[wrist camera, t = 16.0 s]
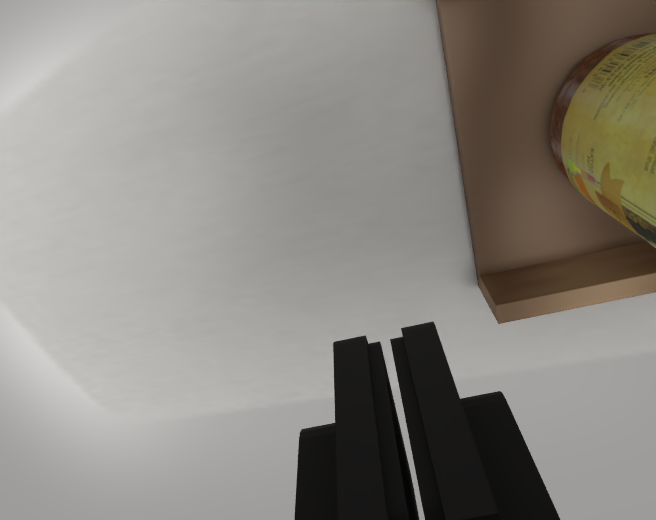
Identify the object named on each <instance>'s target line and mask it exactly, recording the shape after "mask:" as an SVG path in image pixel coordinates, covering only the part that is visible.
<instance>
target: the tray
mask: <svg viewBox="0 0 656 520" xmlns="http://www.w3.org/2000/svg"><path fill="white" fill-rule="evenodd" d="M436 2H437V9H438V16H439V22H440V29H441V36H442V43H443V49H444V56H445V63H446V70H447V76H448V83H449V90H450V96H451V103H452V110H453V117H454V123H455V130H456V137H457V144H458V150H459V157H460V164H461V171H462V177H463V184H464V191H465V197H466V204H467V211H468V218H469V224H470V231H471V238H472V245H473V251H474V258H475V265H476V272H477V278H478V285H479V288H480V290H481V292H482V294H483V296H484V298H485V300H486V301H487V303H488V305H489V307H490V309H491V311H492V313H493V314H494V316H495V318H496V320H497V322H498V324H500V323H505V322H510V321H515V320H520V319H525V318H530V317H535V316H540V315H545V314H550V313H554V312H559V311H564V310H569V309H574V308H579V307H584V306H589V305H594V304H599V303H604V302H609V301H614V300H619V299H624V298H629V297H634V296H638V295H643V294H648V293H653V292H656V248H654V247H653V246H652V245H651V244H650V243H648V242H647V241H646V240H645V239H643V238H642V237H640V236H639V235H637V234H636V233H635V232H633V231H632V230H630V229H629V228H627V227H626V226H625V225H623V224H622V223H620V222H619V221H618V220H616V219H615V218H613V217H612V216H610V215H609V214H607V213H606V212H605V211H603V210H602V209H600V208H599V207H597V206H596V205H595V204H593V203H592V202H590V201H589V200H587V199H586V198H585V197H584V196H582V195H581V193H580V192H579V191H578V190H577V189H576V188H575V187H574V186H573V184H572V183H571V181H570V180H568V179H567V178H566V177H565V175H564V174H563V173H562V172H561V171H560V169H559V168H558V164H557V161H556V159H555V157H554V155H553V151H552V149H551V145H550V136H549V125H550V117H551V113H552V111H553V108H554V105H555V99H556V98H557V96H558V93H559V92H560V91H561V89H562V87H563V85H564V83H565V81H566V79H567V78H568V77H569V76H570V74H571V73H572V72H573V71H574V69H575V68H576V67H577V66H578V65H579V64H580V63H581V62H582V61H583V60H584V59H585V58H587V57H589V56H590V55H591V54H593V53H595V52H597V51H598V50H600V49H602V48H604V47H606V46H608V45H610V44H611V43H613V42H614V41H616V40H620V39H623V38H626V37H629V36H634V35H640V34H646V33H656V0H436Z"/></svg>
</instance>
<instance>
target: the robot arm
mask: <svg viewBox="0 0 656 520" xmlns="http://www.w3.org/2000/svg"><path fill="white" fill-rule="evenodd" d="M401 330H402V335H403V337H400V338H395V339H390V341H391V346H392V351H393V356H394V361H395V367H396V372H397V377H398V382H399V387H400V392H401V398H402V403H403V408H404V413H405V418H406V423H407V429H408V433H409V439H410V444H411V449H412V454H413V460H414V465H415V469H416V475H417V480H418V486H419V491H420V496H421V501H422V506H423V511H424V516H425V520H560V518H559V516H558V514H557V511H556V509H555V507H554V505H553V502H552V500H551V498H550V496H549V494H548V491H547V490H546V487H545V485H544V483H543V480H542V478H541V476H540V474H539V472H538V469H537V467H536V466H535V463H534V461H533V458H532V456H531V454H530V452H529V450H528V447H527V445H526V443H525V441H524V439H523V436H522V434H521V432H520V430H519V427H518V425H517V423H516V421H515V419H514V416H513V414H512V412H511V410H510V408H509V406H508V404H507V401H506V399H505V397H504V395H503V394H502V392H500V391H498V392H494V393H488V394H483V395H478V396H472V397H467V398H462V399H460V398H459V395H458V392H457V389H456V386H455V383H454V380H453V377H452V374H451V371H450V368H449V365H448V362H447V359H446V356H445V353H444V350H443V347H442V345H441V342H440V339H439V336H438V333H437V330H436V327H435V324H434V322H429V323H424V324H420V325H415V326H410V327H405V328H401ZM333 351H334V390H335V423H332V424H327V425H322V426H317V427H311V428H306V429H302V430H301V432H300V437H299V453H298V471H297V488H296V504H295V505H296V506H295V520H419V516H418V510H417V505H416V499H415V494H414V488H413V483H412V478H411V473H410V469H409V464H408V460H407V456H406V451H405V447H404V442H403V438H402V434H401V429H400V425H399V421H398V417H397V413H396V408H395V403H394V399H393V395H392V390H391V386H390V382H389V377H388V373H387V369H386V364H385V360H384V356H383V351H382V347H381V343H380V342H375V343H370V344H368V341H367V338H366V336H361V337H356V338H351V339H346V340H341V341H336V342H334V343H333Z"/></svg>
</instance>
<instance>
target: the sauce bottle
mask: <svg viewBox="0 0 656 520" xmlns="http://www.w3.org/2000/svg"><path fill="white" fill-rule="evenodd" d="M549 136H550V145H551V149H552V151H553V155H554V157H555V159H556V161H557V164H558V168H559V169H560V171H561V172H562V173H563V174H564V175H565V177H566V178H567V179H568V180H570V181H571V183H572V184H573V186H574V187H575V188H576V189H577V190H578V191H579V192H580V193H581V195H582V196H584V197H585V198H586V199H587V200H589V201H590V202H592V203H593V204H595V205H596V206H597V207H599V208H600V209H602V210H603V211H605V212H606V213H607V214H609V215H610V216H612V217H613V218H615V219H616V220H618V221H619V222H620V223H622V224H623V225H625V226H626V227H627V228H629V229H630V230H632V231H633V232H635V233H636V234H637V235H639V236H640V237H642V238H643V239H645V240H646V241H647V242H648V243H650V244H651V245H652V246H653V247H654V248H656V33H646V34H640V35H634V36H629V37H626V38H623V39H620V40H616V41H614V42H613V43H611V44H610V45H608V46H606V47H604V48H602V49H600V50H598V51H597V52H595V53H593V54H591V55H590V56H589V57H587V58H585V59H584V60H583V61H582V62H581V63H580V64H579V65H578V66H577V67H576V68H575V69H574V71H573V72H572V73H571V74H570V76H569V77H568V78H567V79H566V81H565V83H564V85H563V87H562V89H561V91H560V92H559V93H558V96H557V98H556V99H555V105H554V108H553V111H552V113H551V117H550V125H549Z"/></svg>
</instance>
